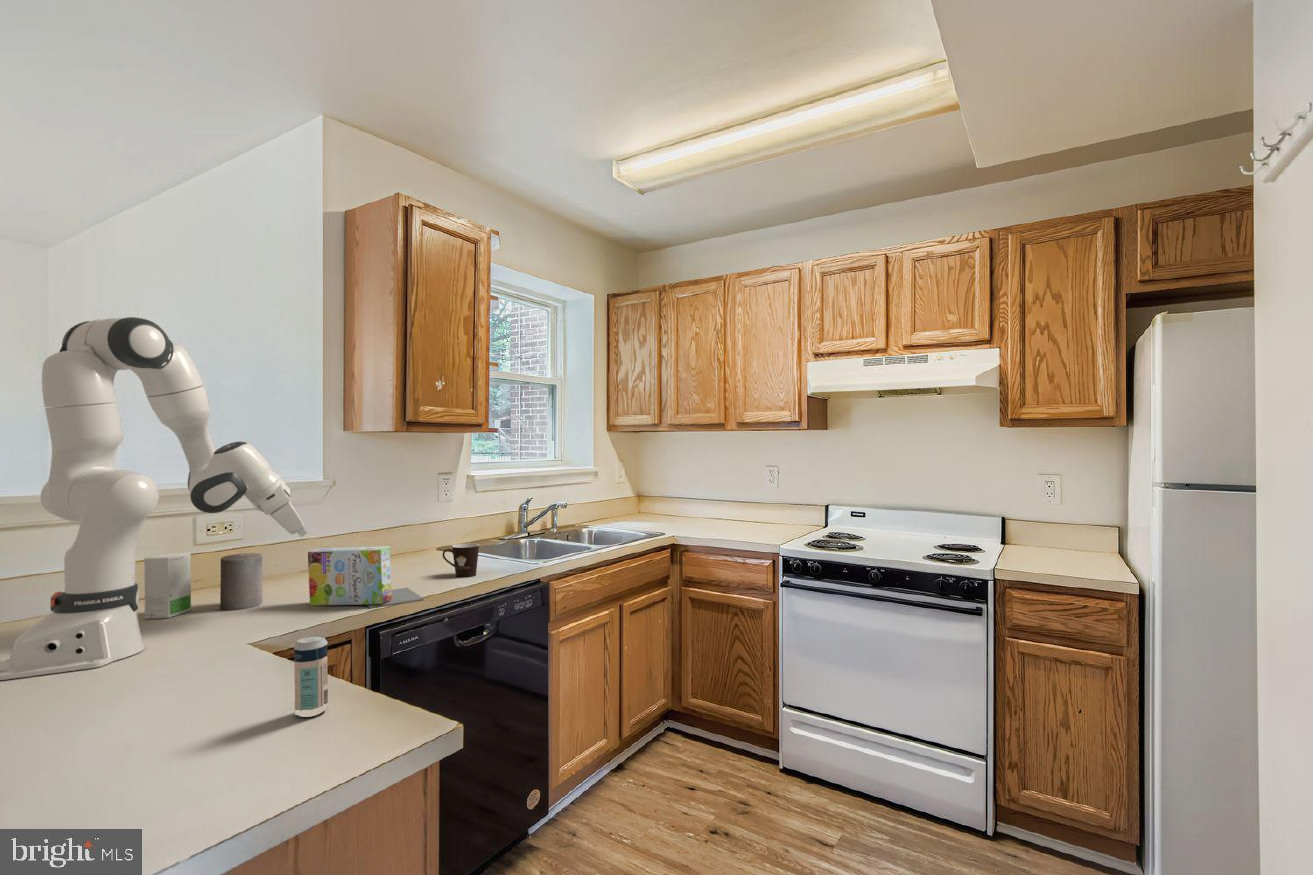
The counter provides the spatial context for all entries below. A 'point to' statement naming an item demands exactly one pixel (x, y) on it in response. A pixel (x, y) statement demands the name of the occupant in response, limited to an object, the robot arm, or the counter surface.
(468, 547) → the coffee mug
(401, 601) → the mat
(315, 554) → the snack box
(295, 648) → the supplement bottle
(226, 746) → the counter surface
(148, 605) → the skincare box
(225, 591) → the pillar candle
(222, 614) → the counter surface
